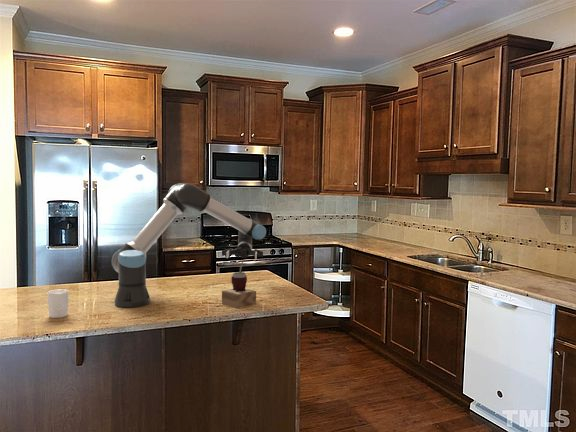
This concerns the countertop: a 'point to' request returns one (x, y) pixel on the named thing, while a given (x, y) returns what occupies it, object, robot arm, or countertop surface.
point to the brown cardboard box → (238, 298)
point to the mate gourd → (239, 280)
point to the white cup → (58, 303)
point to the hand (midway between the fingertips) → (241, 255)
